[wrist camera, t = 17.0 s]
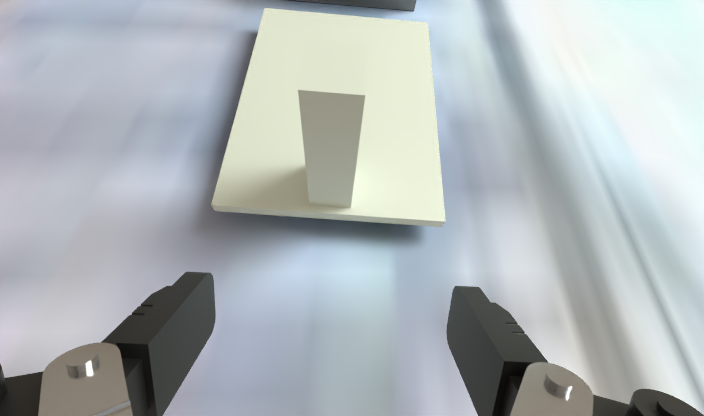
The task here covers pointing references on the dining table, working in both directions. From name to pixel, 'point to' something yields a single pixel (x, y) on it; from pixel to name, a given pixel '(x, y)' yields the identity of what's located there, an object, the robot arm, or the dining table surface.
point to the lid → (336, 123)
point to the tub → (372, 3)
